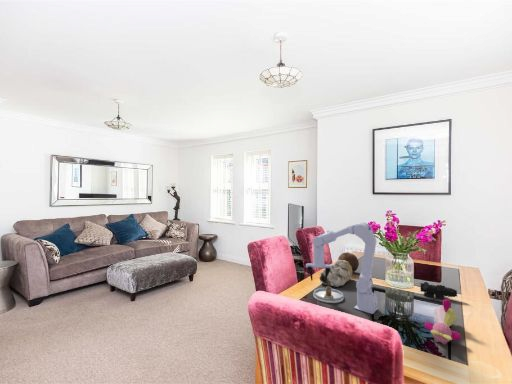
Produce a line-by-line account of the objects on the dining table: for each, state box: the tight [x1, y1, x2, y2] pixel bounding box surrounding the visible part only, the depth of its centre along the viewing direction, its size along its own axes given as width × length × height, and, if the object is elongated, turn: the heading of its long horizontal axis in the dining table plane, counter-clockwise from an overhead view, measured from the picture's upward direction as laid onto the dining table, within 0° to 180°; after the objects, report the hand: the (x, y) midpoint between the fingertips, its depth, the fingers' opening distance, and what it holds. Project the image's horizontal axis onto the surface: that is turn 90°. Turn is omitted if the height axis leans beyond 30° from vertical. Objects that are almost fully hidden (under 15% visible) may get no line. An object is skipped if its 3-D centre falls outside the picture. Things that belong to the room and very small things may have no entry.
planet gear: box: [324, 285, 333, 299], centre depth 147 cm, size 5×5×6 cm
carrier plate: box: [312, 287, 344, 304], centre depth 152 cm, size 17×17×4 cm
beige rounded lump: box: [319, 259, 354, 288], centre depth 175 cm, size 16×15×26 cm
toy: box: [423, 298, 462, 345], centre depth 113 cm, size 12×12×30 cm
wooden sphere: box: [337, 251, 360, 273], centre depth 198 cm, size 15×15×15 cm
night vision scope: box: [419, 281, 458, 300], centre depth 152 cm, size 8×18×10 cm
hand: (318, 280), depth 152 cm, fingers open, 7 cm apart
